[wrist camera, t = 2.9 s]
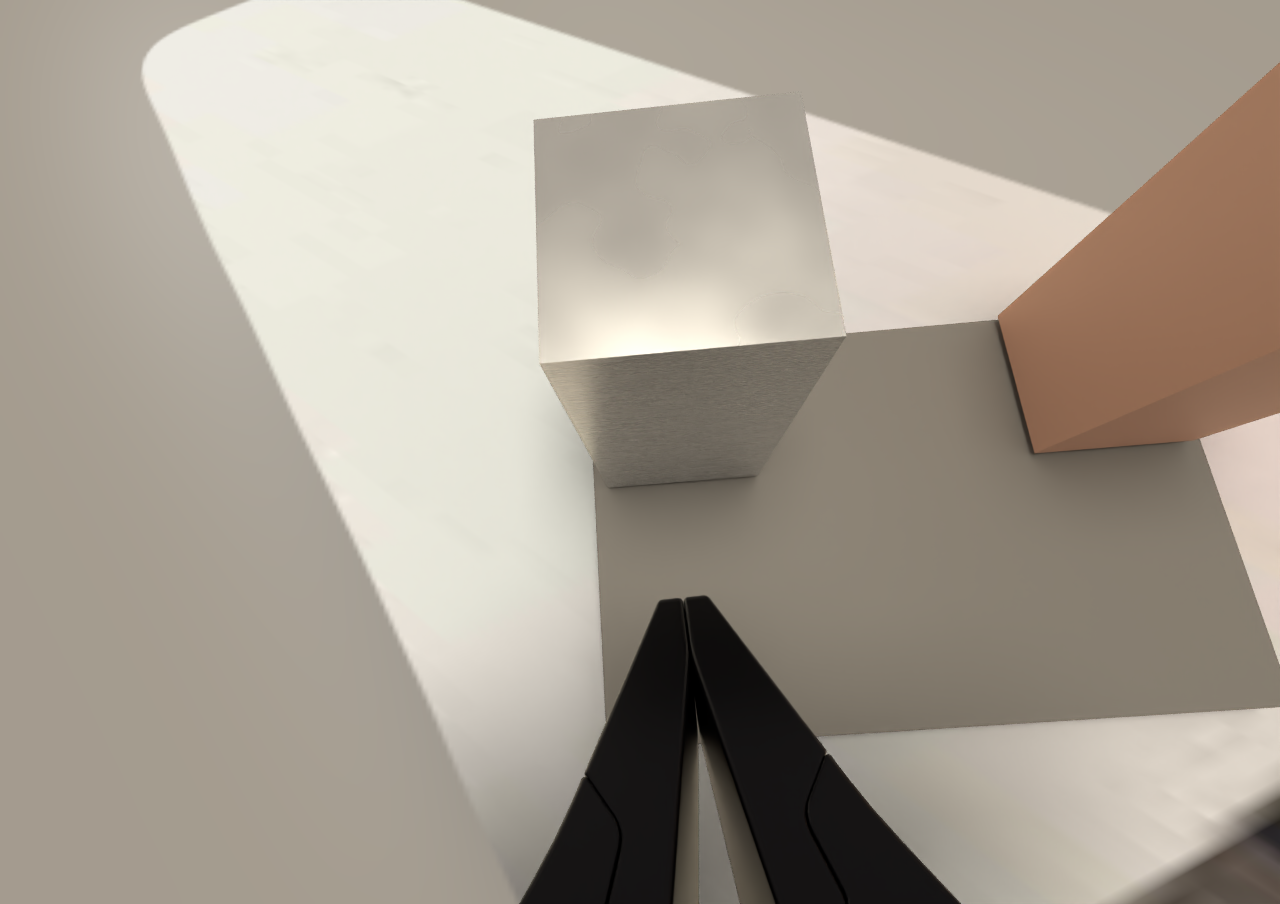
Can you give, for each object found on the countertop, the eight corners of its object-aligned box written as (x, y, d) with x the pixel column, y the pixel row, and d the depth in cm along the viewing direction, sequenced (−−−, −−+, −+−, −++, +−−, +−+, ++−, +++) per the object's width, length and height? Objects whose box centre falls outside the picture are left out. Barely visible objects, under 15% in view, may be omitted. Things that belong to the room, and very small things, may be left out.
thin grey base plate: (1252, 699, 17) (1293, 705, 16) (611, 740, 18) (607, 749, 17) (1126, 322, 21) (1152, 306, 20) (592, 370, 22) (587, 356, 21)
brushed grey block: (757, 475, 19) (846, 335, 9) (608, 487, 19) (539, 363, 9) (739, 339, 20) (801, 91, 10) (600, 351, 20) (533, 119, 11)
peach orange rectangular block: (1193, 440, 18) (1778, 252, 9) (1034, 453, 18) (1432, 283, 9) (1144, 302, 19) (1603, 6, 10) (997, 316, 20) (1306, 37, 10)
